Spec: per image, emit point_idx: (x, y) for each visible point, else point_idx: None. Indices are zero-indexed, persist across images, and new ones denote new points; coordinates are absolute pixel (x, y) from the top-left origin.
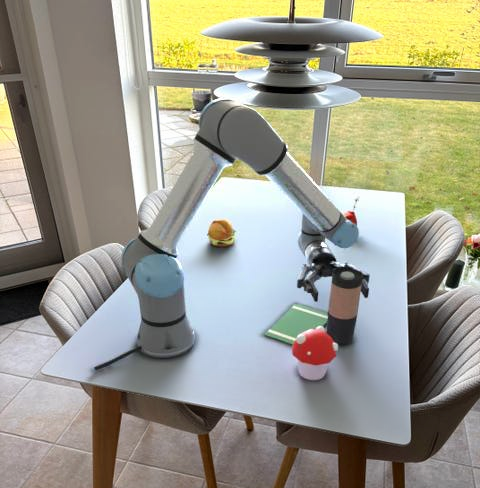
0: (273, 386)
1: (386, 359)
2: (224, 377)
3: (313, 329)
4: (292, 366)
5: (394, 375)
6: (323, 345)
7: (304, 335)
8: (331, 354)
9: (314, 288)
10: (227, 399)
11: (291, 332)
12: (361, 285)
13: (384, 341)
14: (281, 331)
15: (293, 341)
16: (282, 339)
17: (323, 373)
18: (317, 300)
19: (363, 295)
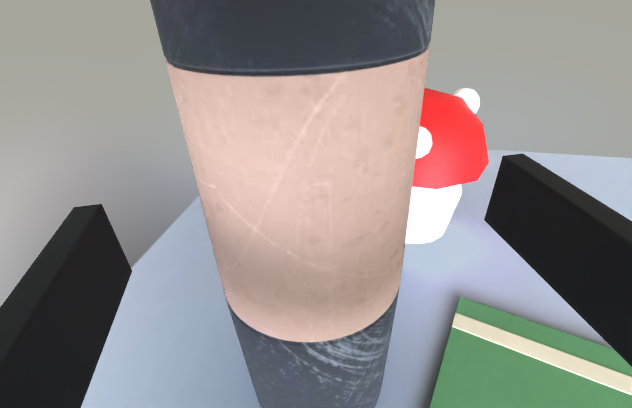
0: (486, 185)
1: (181, 270)
2: (620, 196)
3: (438, 109)
4: (467, 232)
5: (195, 223)
6: None
7: (458, 97)
8: None
9: (565, 186)
10: (560, 161)
11: (565, 399)
12: (62, 327)
13: (122, 363)
14: (623, 405)
15: (518, 331)
16: (574, 341)
17: None
18: (487, 212)
19: (121, 298)
